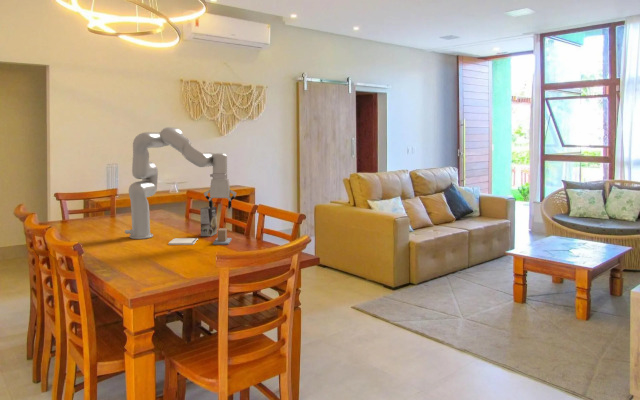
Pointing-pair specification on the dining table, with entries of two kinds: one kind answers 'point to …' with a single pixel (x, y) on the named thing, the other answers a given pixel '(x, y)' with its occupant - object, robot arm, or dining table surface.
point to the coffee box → (208, 221)
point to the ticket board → (183, 241)
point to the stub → (222, 237)
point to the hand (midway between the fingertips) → (220, 208)
